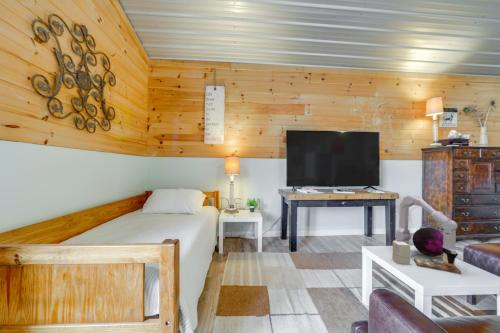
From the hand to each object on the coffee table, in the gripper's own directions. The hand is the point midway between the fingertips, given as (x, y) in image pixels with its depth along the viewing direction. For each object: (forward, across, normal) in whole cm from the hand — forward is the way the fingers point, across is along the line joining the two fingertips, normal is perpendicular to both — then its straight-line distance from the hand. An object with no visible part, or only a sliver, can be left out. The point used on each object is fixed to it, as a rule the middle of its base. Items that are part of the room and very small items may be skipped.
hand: (449, 261), depth 137 cm
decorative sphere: (+5, +22, +4) cm, 23 cm away
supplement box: (+5, -3, +26) cm, 26 cm away
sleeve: (+1, 0, 0) cm, 1 cm away
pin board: (+4, 0, +6) cm, 8 cm away
